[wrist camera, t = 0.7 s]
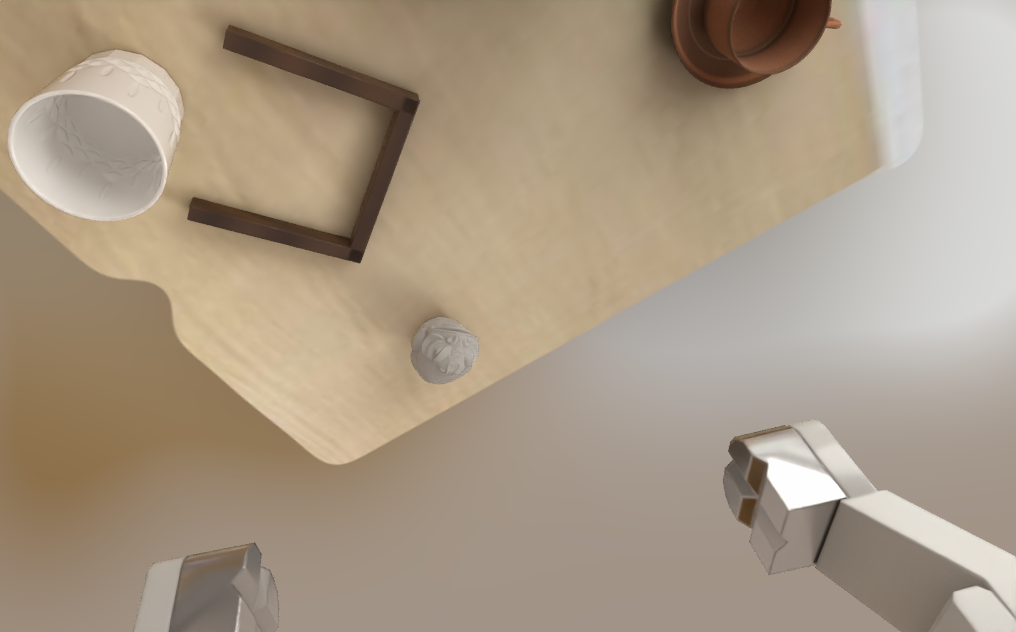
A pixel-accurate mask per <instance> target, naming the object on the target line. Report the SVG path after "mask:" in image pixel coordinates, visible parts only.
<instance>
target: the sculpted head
mask: <svg viewBox="0 0 1016 632" xmlns="http://www.w3.org/2000/svg"><path fill="white" fill-rule="evenodd" d="M411 347H412V349H413V350H412V352H411V361H412V364H413V366H414V368H415V369H416V370H417V371H418V373H419V374H420V376H421V377H422V378H423V379H424V380H425V381H427V382H429V383H433V384H445V383H448V382H451V381H454V380H456V379H458V378H459V377H461V376H463V375H465V374H466V373H468V372H469V371H470V369H471V367H472V366H473V364H474V362H475V361H476V359H477V357H478V352H479V345H478V338H477V336H475V335H474V334H472V333H471V332H470V331H468V330H467V329H466V328H465V327H464V326H462V325H461V324H460V323H459V322H457V321H456V320H454V319H451V318H448V317H436V318H432V319H430V320H428V321H426V322H425V323H423V324H422V325H421V327H419V329H418V331H417V333H416V334H415V336H414V337H413V338H412V341H411Z"/></svg>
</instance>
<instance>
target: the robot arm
mask: <svg viewBox="0 0 1016 632" xmlns="http://www.w3.org/2000/svg"><path fill="white" fill-rule="evenodd" d="M728 452H729V454H730V455H731V457H732V458H733V460H732V461H731V462H730V463H729V464H728V465H727V467H725V470H724V477H723V484H724V490H725V496H726V499H727V501H728V504H729V506H730V508H731V510H732V512H733V514H734V516H735V518H736V519H737V520H738V521H739V522H741V523H743V524H744V525H746V526H748V527H749V528H751V534H750V541H749V542H750V544H751V546H752V547H753V549H754V551H755V552H756V554H757V556H758V558H759V559H760V560H761V563H762V564H763V566H764V568H765V569H766V571H767V573H768V574H769V575H771V574H776V573H781V572H785V571H790V570H795V569H799V568H804V567H809V566H813V565H816V566H815V568H816V569H817V570H819V571H820V572H821V573H823V574H824V575H826V576H827V577H828V578H829V579H831V580H832V581H834V582H835V583H836V584H838V585H839V586H840V587H842V588H843V589H844V590H846V591H847V592H848V593H850V594H851V595H852V596H854V597H855V598H856V599H858V600H859V601H861V602H862V603H863V604H865V605H866V606H867V607H869V608H870V609H871V610H873V611H874V612H875V613H877V614H878V615H880V616H881V617H882V618H883V619H885V620H886V621H887V622H889V623H890V624H892V625H893V626H894V627H896V628H897V629H898V630H900V631H901V632H1016V557H1015V556H1013V555H1011V554H1009V553H1007V552H1006V551H1004V550H1002V549H1000V548H998V547H996V546H994V545H992V544H990V543H988V542H986V541H984V540H982V539H980V538H978V537H976V536H974V535H973V534H971V533H969V532H967V531H965V530H963V529H961V528H959V527H957V526H955V525H953V524H951V523H949V522H947V521H945V520H943V519H941V518H940V517H938V516H936V515H933V514H932V513H930V512H928V511H926V510H924V509H922V508H920V507H918V506H916V505H914V504H912V503H910V502H909V501H907V500H905V499H903V498H901V497H899V496H897V495H895V494H893V493H891V492H889V491H887V490H882V491H877V490H876V489H875V487H874V486H873V485H872V484H871V482H870V481H869V480H868V479H867V478H866V476H865V475H864V474H863V473H862V472H861V470H860V469H859V468H858V467H857V465H856V464H855V463H854V462H853V460H852V459H851V458H850V457H849V456H848V454H847V453H846V452H845V451H844V450H843V448H842V447H841V446H840V444H839V443H838V442H837V441H836V439H835V438H834V437H833V436H832V435H831V433H830V432H829V431H828V430H827V428H826V427H825V426H824V425H823V424H822V423H821V422H819V421H817V420H809V421H805V422H801V423H796V424H792V425H788V426H785V425H784V426H780V427H775V428H771V429H767V430H762V431H758V432H754V433H750V434H745V435H741V436H737V437H734V438H733V439H732V441H731V442H730V446H729V450H728ZM261 556H262V554H261V552H260V550H259V549H258V547H257V545H256V544H255V543H250V544H245V545H240V546H235V547H229V548H224V549H220V550H214V551H210V552H204V553H199V554H194V555H188V556H184V557H179V558H174V559H169V560H164V561H160V562H155V563H153V565H152V566H151V568H150V570H149V571H148V573H147V575H146V579H145V584H144V588H143V592H142V596H141V600H140V604H139V608H138V613H137V617H136V621H135V625H134V629H133V632H275V631H276V630H277V628H278V624H279V603H278V592H277V587H276V584H275V580H274V577H273V575H272V573H271V571H270V570H269V569H267V568H264V567H262V566H261Z"/></svg>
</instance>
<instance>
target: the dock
mask: <svg viewBox="0 0 1016 632" xmlns="http://www.w3.org/2000/svg"><path fill="white" fill-rule="evenodd" d="M223 48H224V49H227V50H229V51H232V52H235V53H238V54H241V55H243V56H246V57H249V58H252V59H255V60H258V61H260V62H263V63H266V64H269V65H272V66H274V67H277V68H280V69H283V70H286V71H289V72H291V73H294V74H297V75H300V76H303V77H305V78H308V79H311V80H314V81H317V82H320V83H322V84H325V85H328V86H331V87H334V88H336V89H339V90H342V91H345V92H348V93H351V94H353V95H356V96H359V97H362V98H365V99H367V100H370V101H373V102H376V103H379V104H382V105H384V106H387V107H390V108H393V109H395V112H394V115H393V118H392V121H391V124H390V126H389V129H388V132H387V135H386V138H385V141H384V143H383V146H382V149H381V152H380V155H379V158H378V161H377V163H376V166H375V169H374V172H373V175H372V178H371V180H370V183H369V186H368V189H367V192H366V195H365V197H364V200H363V203H362V206H361V209H360V212H359V215H358V217H357V220H356V223H355V226H354V229H353V232H352V234H351V237H350V239H348V238H344V237H340V236H337V235H333V234H329V233H325V232H322V231H318V230H314V229H310V228H307V227H303V226H299V225H295V224H292V223H288V222H284V221H280V220H277V219H273V218H269V217H265V216H262V215H258V214H254V213H250V212H247V211H243V210H239V209H235V208H232V207H228V206H224V205H220V204H217V203H213V202H209V201H205V200H202V199H198V198H194V197H193V199H192V202H191V205H190V209H189V213H188V218H187V219H188V220H191V221H195V222H199V223H202V224H206V225H210V226H214V227H218V228H222V229H226V230H230V231H234V232H238V233H242V234H246V235H250V236H254V237H258V238H262V239H266V240H270V241H274V242H278V243H281V244H285V245H289V246H293V247H297V248H301V249H305V250H309V251H313V252H317V253H321V254H325V255H329V256H333V257H337V258H341V259H345V260H349V261H353V262H357V263H361V260H362V257H363V255H364V252H365V249H366V246H367V244H368V241H369V238H370V235H371V233H372V230H373V227H374V225H375V222H376V219H377V216H378V214H379V211H380V208H381V206H382V203H383V200H384V197H385V195H386V192H387V189H388V187H389V184H390V181H391V178H392V176H393V173H394V170H395V168H396V165H397V162H398V159H399V157H400V154H401V151H402V149H403V146H404V143H405V140H406V138H407V135H408V132H409V130H410V127H411V124H412V121H413V119H414V116H415V114H416V111H417V108H418V105H419V103H420V100H419V97H418V94H415V93H413V92H410V91H407V90H405V89H402V88H399V87H397V86H394V85H391V84H388V83H386V82H383V81H380V80H378V79H375V78H372V77H369V76H367V75H364V74H361V73H359V72H356V71H353V70H351V69H348V68H345V67H342V66H340V65H337V64H334V63H332V62H329V61H326V60H323V59H321V58H318V57H315V56H313V55H310V54H307V53H305V52H302V51H299V50H296V49H294V48H291V47H288V46H286V45H283V44H280V43H277V42H275V41H272V40H269V39H267V38H264V37H261V36H259V35H256V34H253V33H250V32H248V31H245V30H242V29H240V28H237V27H234V26H231V25H229V27H228V29H227V31H226V36H225V40H224V45H223Z"/></svg>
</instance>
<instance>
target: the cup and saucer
mask: <svg viewBox="0 0 1016 632" xmlns="http://www.w3.org/2000/svg"><path fill="white" fill-rule="evenodd" d="M831 3H832V0H673V5H672V12H671V32H672V38H673V43H674V46H675V49H676V52H677V54H678V56H679V58H680V60H681V62H682V63H683V65H684V66H685V68H686V69H687V70H688V71H689V72H690V73H691V74H692V75H693V76H694V77H695V78H697V79H698V80H699V81H701V82H703V83H705V84H707V85H710V86H713V87H717V88H725V89H732V88H741V87H745V86H749V85H752V84H755V83H757V82H760V81H762V80H764V79H766V78H768V77H769V76H771V75H772V74H777V73H780V72H783V71H785V70H787V69H789V68H791V67H793V66H794V65H796V64H797V63H799V62H800V61H801V60H802V59H804V58H805V57H806V56H807V55H808V54H809V53H810V52H811V50H812V49H813V48H814V47H815V45H816V44H817V43H818V41H819V40H820V38H821V36H822V34H823V32H824V30H825V28H832V29H837V28H840V27H841V22H840V21H839V20H837V19H834V18H831V17H829V16H830V12H831Z"/></svg>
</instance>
